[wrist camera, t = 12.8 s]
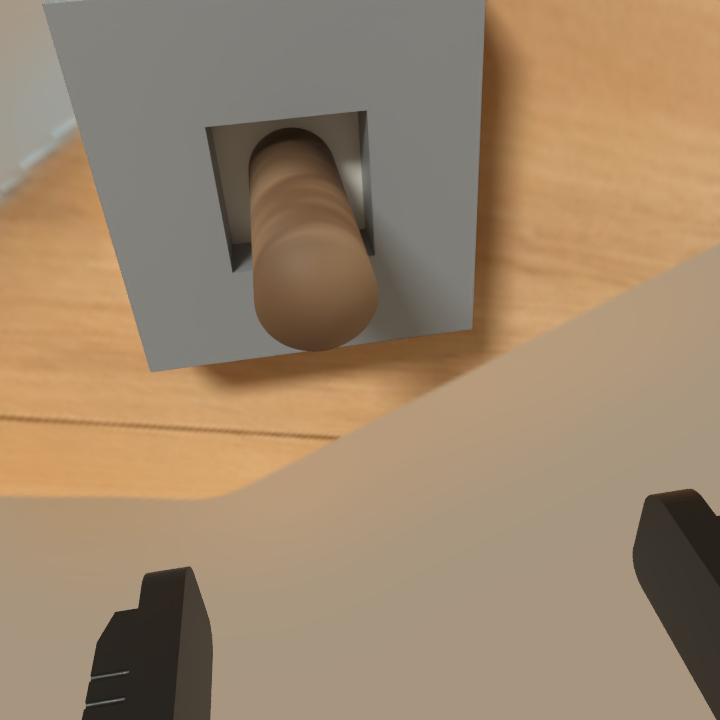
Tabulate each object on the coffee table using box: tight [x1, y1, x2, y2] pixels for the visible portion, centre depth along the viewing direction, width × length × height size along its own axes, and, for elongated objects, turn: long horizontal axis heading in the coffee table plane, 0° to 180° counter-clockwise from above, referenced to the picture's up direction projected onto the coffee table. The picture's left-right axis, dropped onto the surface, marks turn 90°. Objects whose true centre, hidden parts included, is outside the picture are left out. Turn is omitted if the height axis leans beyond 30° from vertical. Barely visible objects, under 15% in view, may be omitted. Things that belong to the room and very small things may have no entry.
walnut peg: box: [248, 127, 379, 351], centre depth 27 cm, size 4×4×12 cm
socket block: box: [42, 0, 486, 372], centre depth 31 cm, size 16×16×4 cm
